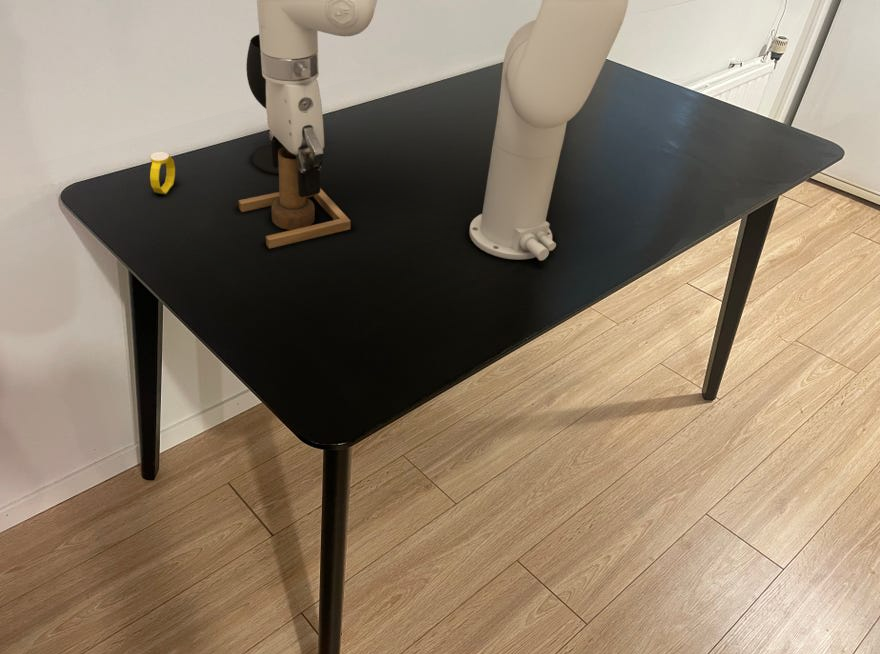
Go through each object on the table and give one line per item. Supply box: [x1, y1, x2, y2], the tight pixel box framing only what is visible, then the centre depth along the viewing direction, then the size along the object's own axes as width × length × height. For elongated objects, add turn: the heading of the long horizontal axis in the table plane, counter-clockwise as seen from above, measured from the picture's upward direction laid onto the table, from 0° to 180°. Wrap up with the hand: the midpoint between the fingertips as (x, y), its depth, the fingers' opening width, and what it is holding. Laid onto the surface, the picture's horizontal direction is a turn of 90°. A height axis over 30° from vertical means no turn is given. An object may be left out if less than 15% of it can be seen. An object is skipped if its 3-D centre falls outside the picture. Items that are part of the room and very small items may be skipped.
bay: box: [238, 187, 352, 249], centre depth 119 cm, size 12×13×2 cm
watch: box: [149, 151, 176, 195], centre depth 121 cm, size 6×3×6 cm, turn 169°
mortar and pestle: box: [271, 147, 316, 231], centre depth 113 cm, size 7×6×18 cm
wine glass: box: [245, 33, 310, 176], centre depth 126 cm, size 10×10×20 cm
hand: (295, 179), depth 115 cm, fingers open, 9 cm apart
